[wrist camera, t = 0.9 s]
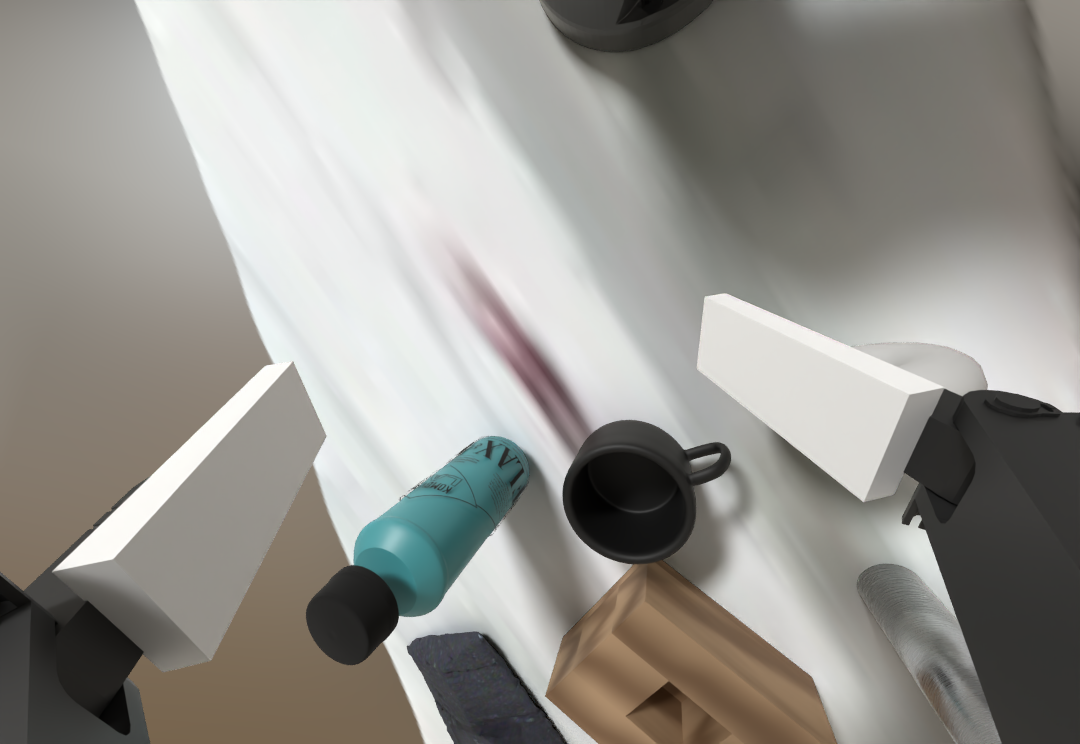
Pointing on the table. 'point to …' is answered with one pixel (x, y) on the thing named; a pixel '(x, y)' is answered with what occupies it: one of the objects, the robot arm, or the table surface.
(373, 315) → the table surface
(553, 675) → the block
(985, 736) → the pin
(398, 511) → the beverage bottle
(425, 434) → the table surface
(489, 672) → the dark slate chunk
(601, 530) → the mug
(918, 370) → the donut
